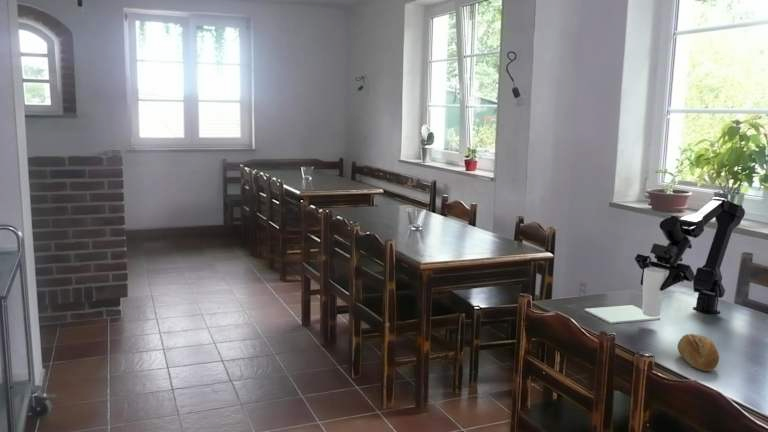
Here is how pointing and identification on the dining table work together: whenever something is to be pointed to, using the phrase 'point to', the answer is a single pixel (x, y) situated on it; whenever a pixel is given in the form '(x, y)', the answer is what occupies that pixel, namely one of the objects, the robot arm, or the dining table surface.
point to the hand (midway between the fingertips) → (650, 287)
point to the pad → (620, 314)
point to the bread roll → (699, 352)
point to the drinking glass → (652, 291)
